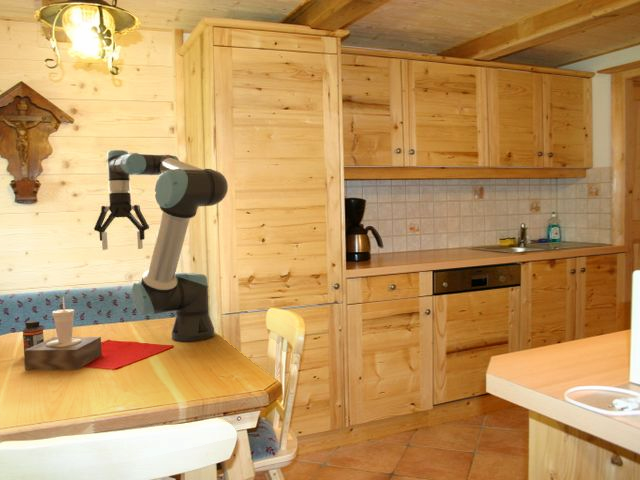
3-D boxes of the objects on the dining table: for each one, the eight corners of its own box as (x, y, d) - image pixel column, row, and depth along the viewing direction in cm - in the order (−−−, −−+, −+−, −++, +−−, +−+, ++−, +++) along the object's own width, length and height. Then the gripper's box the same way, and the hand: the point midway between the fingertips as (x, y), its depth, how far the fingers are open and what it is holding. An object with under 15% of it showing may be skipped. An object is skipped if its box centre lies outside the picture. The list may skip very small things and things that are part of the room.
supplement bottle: (20, 356, 185) (17, 322, 184) (36, 352, 190) (34, 318, 190) (32, 358, 182) (29, 323, 182) (48, 353, 188) (46, 319, 187)
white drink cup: (60, 345, 172) (57, 299, 171) (49, 342, 176) (46, 297, 175) (80, 341, 177) (77, 296, 176) (69, 338, 181) (66, 294, 180)
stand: (101, 355, 184) (100, 335, 184) (77, 369, 168) (75, 348, 168) (54, 355, 185) (52, 336, 185) (25, 370, 169) (23, 349, 169)
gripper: (156, 191, 216) (158, 247, 217) (92, 193, 217) (95, 249, 219) (148, 191, 208) (151, 249, 209) (82, 193, 210) (85, 250, 211)
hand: (122, 249), depth 214 cm, fingers open, 13 cm apart
